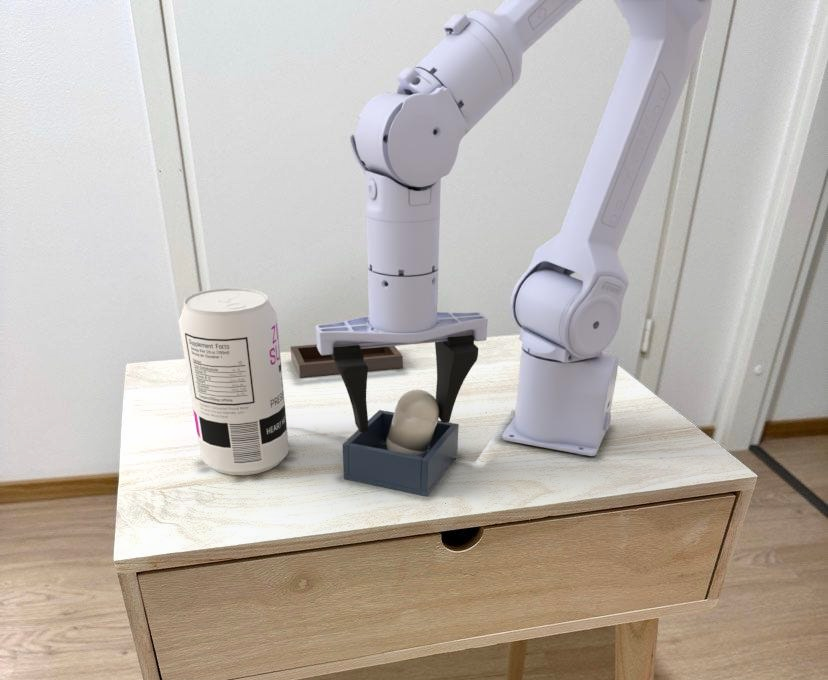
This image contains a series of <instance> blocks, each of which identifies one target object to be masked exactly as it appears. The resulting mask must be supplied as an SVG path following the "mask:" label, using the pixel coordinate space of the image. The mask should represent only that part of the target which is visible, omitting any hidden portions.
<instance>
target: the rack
mask: <svg viewBox="0 0 828 680" xmlns="http://www.w3.org/2000/svg"><path fill="white" fill-rule="evenodd" d="M360 351H361V352H362V354H363V355H364V361H365V363H366V364H367V366H368V373H370V372H381V371H393V370H394V371H395V370H402V369H403V367H404V365H403V364H404V361H403V360H404V358H403V357H404V356H403V355H402V354H401V353H402V352H400V351H399V350H398V348H397V346H388V347H377V348H366V349H360ZM290 358H291V361H292V363H293V366H294V368H295V370H296V373H297V375H298V377H299V379H307V378H319V377H328V376H339V375H340V376H341V374H340V372H339V370H338V368H337V366H336V364H335V362H334V360H333V358H332V356H331V355H321V354H320V353H319V351H318V349H317V343H316V344H315V343H314V344H305V345H294V346H293V345H292V346H290Z"/></svg>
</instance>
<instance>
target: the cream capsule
mask: <svg viewBox="0 0 828 680" xmlns="http://www.w3.org/2000/svg"><path fill="white" fill-rule="evenodd" d="M439 419H440V418H439V405H438V403H437V401H436V397H435V396H434V395H432V393H430V392H429V391H426V390H423V389H412V390H409V391H407V392H405V393H404V394H402V395H401V396H400V398H399V399H398V401H397V403H396V406H395V408H394V415H393V419H392V422H391V425H390V428H389V432H388V435H387V440H386V441H385V445H387V449H388V450H389V451H394V452H399V453H404V454H409V455H414V456H420V457H424V456H425V455H426V453H428V452H429V446H430V443H431V440H432V437H433V434H434V431H435V428H436V425H437V421H438V420H439Z"/></svg>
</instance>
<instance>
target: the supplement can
mask: <svg viewBox="0 0 828 680" xmlns="http://www.w3.org/2000/svg"><path fill="white" fill-rule="evenodd" d="M182 302H183V308H182V311H181V313H180V317H179V319H178V325H179V326H178V327H179V332H180V338H181V344H182V349H183V356H184V363H185V369H186V375H187V380H188V381H187V382H188V387H189V392H190V399H191V404H192V411H193V418H194V422H195V423H194V424H195V428H196V434H197V441H198V447H199V452H200V453H199V454H200V458H201V459H202V460H203V463H204V464H206V465H208V466H210V467H211V469H213V470H214V471H217V472H218V473H220V474H221V473H222V474H226V475H230V476H249V475H250V476H251V475H257V474H260V473H263V472H267V471H270V470H271V469H273V468H275V467H277V466H279V465H280V463H281V462H282V461H283V460H284V459H285V457H286V456H287V455H288V454H289V436H288V435H289V433H288V425H287V411H286V404H285V403H286V401H285V391H284V390H285V389H284V380H283V379H284V378H283V369H282V357H281V347H280V337H279V336H280V335H279V326H278V325H279V324H278V315H277V312H276V310H275V308H274V307H273V305H272V303H271V302H270V301H269V296H268V295H267V294H265V292H262V291H260V290H256V289H251V288H245V287H222V288H221V287H220V288H219V287H218V288H213V289H212V288H211V289H205V290H201V291H198V292H195V293H191V294H190V295H188V296H187V297H185V298H184V300H183V301H182Z"/></svg>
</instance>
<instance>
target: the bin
mask: <svg viewBox="0 0 828 680" xmlns="http://www.w3.org/2000/svg"><path fill="white" fill-rule="evenodd" d="M394 412H395V411H394ZM394 412H393V411H388V410H382V409H379V410H378V411H376V412H375V413H374V414H373V415H372V416H371V417H370V418H368V432H360V431H359V430H358V429H357V430H356V431H355V432H354V433H353V434H352V435H351V436H350V437H348V438H347V439H346V440H345V441H344V442H343V443H342V444H341V445H342V448H341V449H342V469H343V480H348V481H354V482H358V483H363V484H368V485H371V486H372V485H373V486H376V487H381V488H386V489H391V490H394V491H400V492H403V493H404V492H405V493H409V494H414V495H419V496H423V497H428V496H429V494H430V493H431V492H432V491H433V489H434V488H435V487H436V485H437V484H438V483H439V481H440V480H441V479H442V477H443V476H444V475H445V474H446V472H447V471H448V469H449V468H450V467H451V465H452V464H453V463H454V462H455V460H456V459H457V458H456V457H455V456H456V455H457V453H458V449H459V447H458V445H459V427H460V424H459V423H454V422H451V421H450V422H445V423H443V422H442V421H441V420H440V419H438V421H437V425H436V428H435V431H434V434H433V437H432V440H431V443H430V446H429V449H428V451H427V453H426V455H425V456H424V457H420V456H414V455H409V454H404V453H399V452H394V451H389V450H388V449H387V445H386V444H384V443H382V442H386V440H387V435H388V432H389V428H390V425H391V422H392V419H393V415H394Z"/></svg>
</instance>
